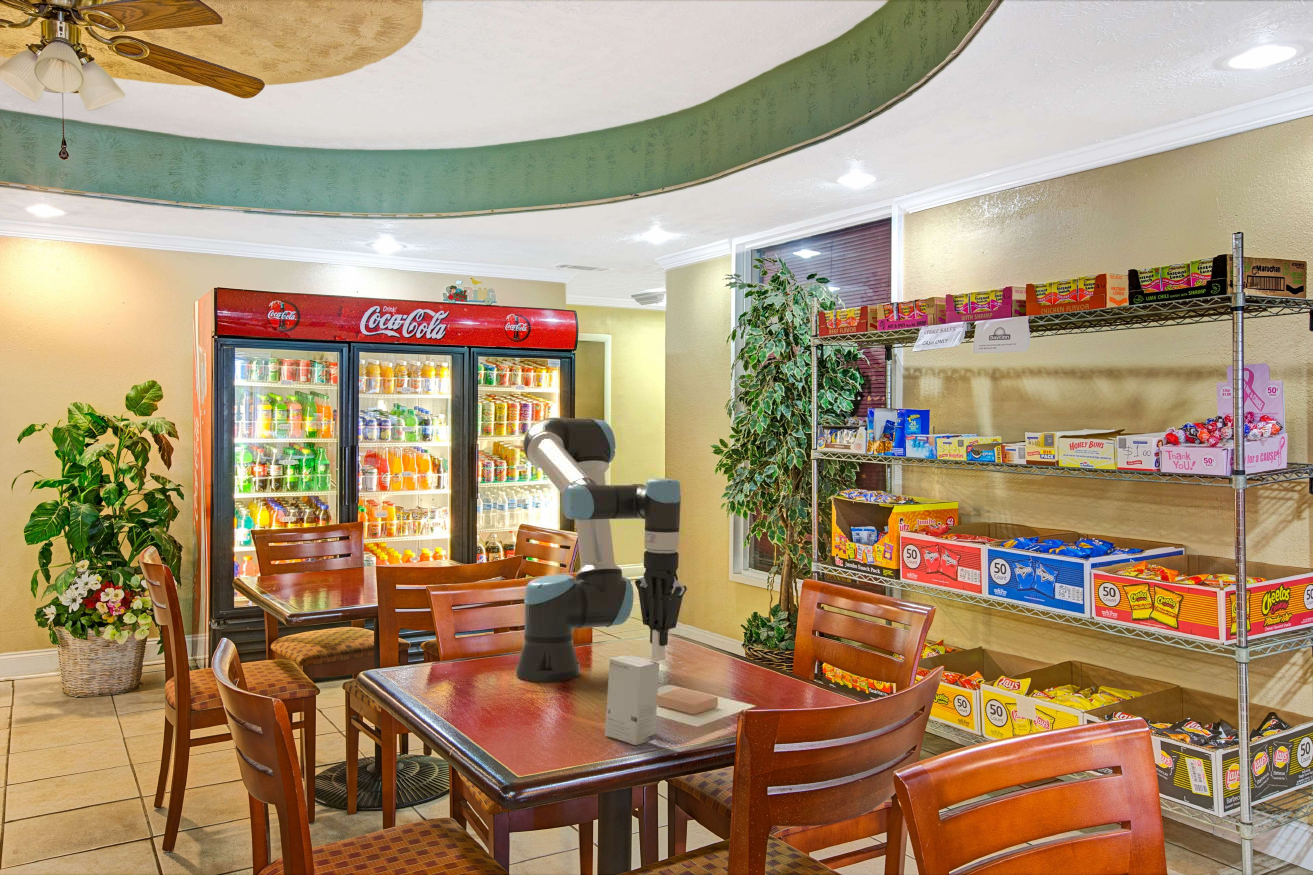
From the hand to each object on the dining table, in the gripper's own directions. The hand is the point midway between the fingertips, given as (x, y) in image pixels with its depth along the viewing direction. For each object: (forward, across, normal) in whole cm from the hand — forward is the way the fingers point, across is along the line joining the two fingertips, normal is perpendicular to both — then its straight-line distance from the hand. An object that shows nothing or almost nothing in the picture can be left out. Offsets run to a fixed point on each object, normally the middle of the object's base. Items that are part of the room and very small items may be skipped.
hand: (658, 659), depth 192 cm
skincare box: (+9, +12, -21) cm, 26 cm away
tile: (+7, +4, 0) cm, 8 cm away
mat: (+9, +6, +1) cm, 11 cm away
